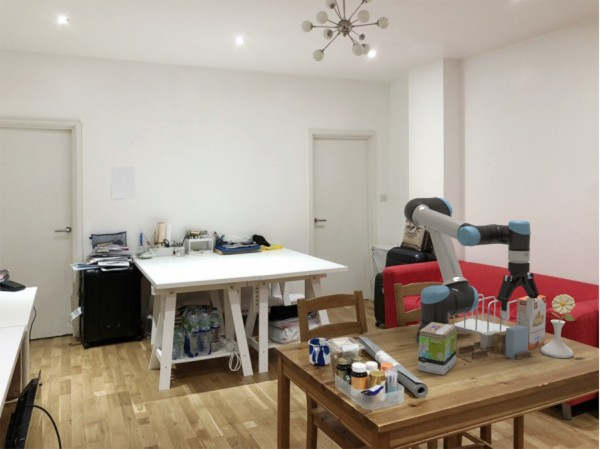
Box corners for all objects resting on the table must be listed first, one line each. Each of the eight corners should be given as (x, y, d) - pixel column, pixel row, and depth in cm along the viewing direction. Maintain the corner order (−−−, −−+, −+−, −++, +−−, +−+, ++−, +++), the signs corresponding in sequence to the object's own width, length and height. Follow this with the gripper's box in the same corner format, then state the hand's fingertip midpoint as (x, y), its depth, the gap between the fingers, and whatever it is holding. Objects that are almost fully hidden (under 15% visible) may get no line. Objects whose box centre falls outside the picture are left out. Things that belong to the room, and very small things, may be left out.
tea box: (445, 376, 175) (445, 334, 174) (417, 370, 181) (417, 330, 180) (456, 363, 188) (457, 324, 187) (430, 358, 194) (430, 320, 192)
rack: (473, 349, 204) (473, 342, 204) (494, 344, 209) (494, 337, 209) (514, 364, 186) (514, 356, 186) (536, 359, 191) (536, 351, 191)
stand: (455, 356, 195) (455, 347, 195) (474, 352, 200) (474, 343, 200) (471, 362, 188) (471, 353, 188) (490, 358, 193) (490, 349, 193)
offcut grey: (480, 347, 202) (480, 333, 202) (496, 344, 206) (496, 330, 206) (487, 350, 199) (487, 335, 199) (503, 346, 203) (503, 332, 203)
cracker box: (529, 352, 199) (531, 300, 197) (515, 349, 203) (516, 298, 202) (545, 345, 208) (547, 295, 206) (531, 342, 212) (532, 293, 211)
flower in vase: (533, 353, 198) (535, 291, 196) (555, 350, 202) (557, 288, 200) (561, 364, 186) (563, 297, 184) (584, 360, 190) (586, 295, 188)
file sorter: (450, 328, 234) (450, 295, 233) (471, 322, 245) (471, 290, 244) (501, 341, 215) (502, 305, 214) (521, 333, 226) (521, 299, 225)
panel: (505, 356, 192) (506, 328, 191) (520, 353, 196) (520, 325, 195) (513, 359, 189) (513, 330, 188) (527, 355, 192) (528, 327, 192)
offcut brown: (493, 351, 198) (494, 332, 197) (506, 348, 201) (506, 330, 200) (501, 354, 194) (501, 335, 194) (513, 351, 198) (514, 332, 197)
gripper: (503, 265, 181) (502, 323, 182) (549, 260, 192) (548, 314, 193) (487, 262, 187) (486, 318, 189) (532, 258, 199) (531, 311, 200)
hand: (518, 317), depth 191 cm, fingers open, 13 cm apart
